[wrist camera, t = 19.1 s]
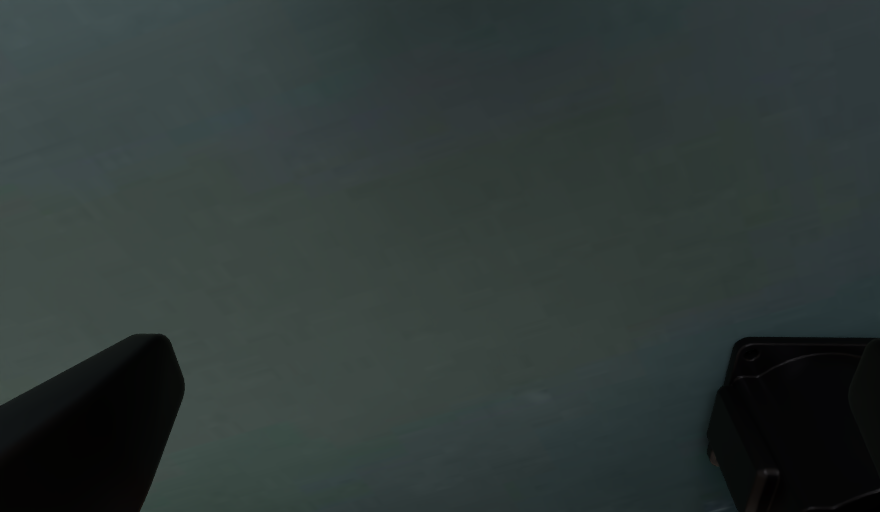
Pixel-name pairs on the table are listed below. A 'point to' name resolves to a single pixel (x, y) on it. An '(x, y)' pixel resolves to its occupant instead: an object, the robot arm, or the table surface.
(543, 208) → the table surface
